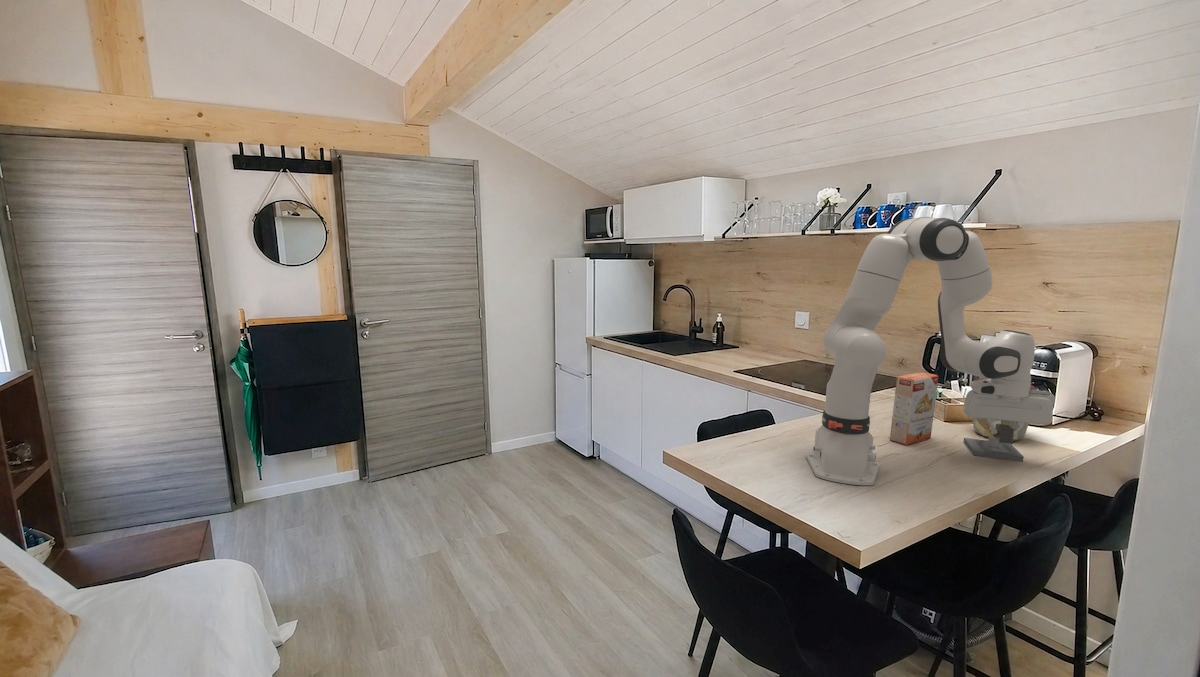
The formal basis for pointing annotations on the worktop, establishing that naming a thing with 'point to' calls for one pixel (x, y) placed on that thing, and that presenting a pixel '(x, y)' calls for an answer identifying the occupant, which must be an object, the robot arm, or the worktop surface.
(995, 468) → the worktop surface
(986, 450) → the stand
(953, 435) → the worktop surface
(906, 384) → the cracker box
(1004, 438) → the link
